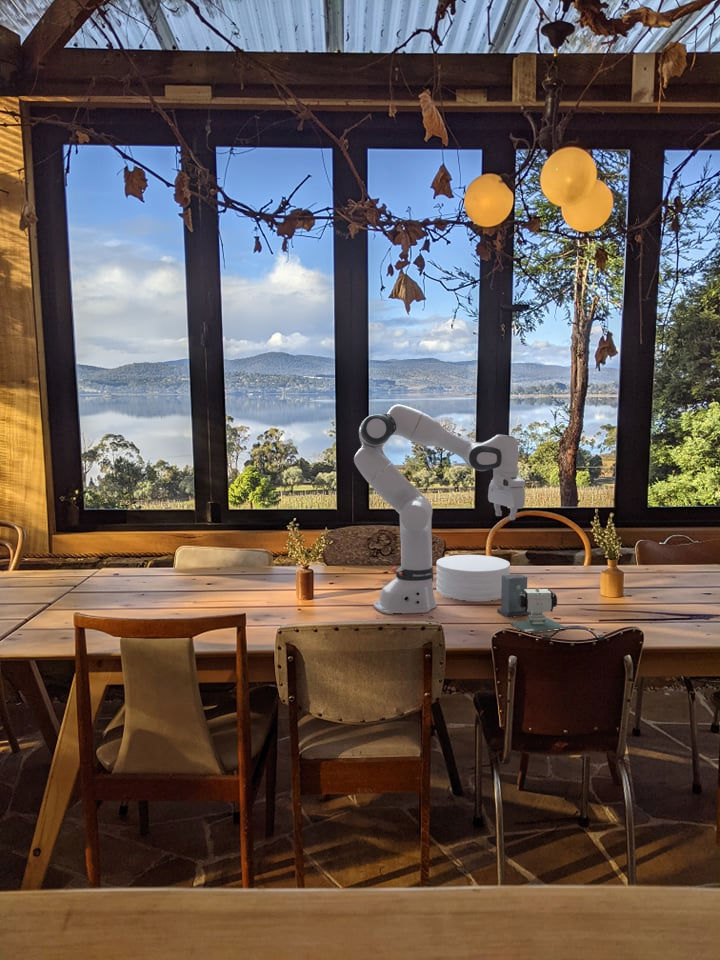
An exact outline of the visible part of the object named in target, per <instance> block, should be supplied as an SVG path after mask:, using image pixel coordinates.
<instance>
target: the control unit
mask: <svg viewBox="0 0 720 960" xmlns="http://www.w3.org/2000/svg"><path fill="white" fill-rule="evenodd" d="M522 589H528V577H527V576H526V575H523V574H521V573H513V574H510V575H502V589H501V599H500V601H501V604H500V605H501V606H500V608H497V609H496V613H498V614H500V615H501V614H502V615H501V616H503V615H504V616H503V617H505V616H506V617H512V618H515V617H514V616H521V617H523V616H522V615H530V613H531V612H525V611H524V610H523V609H522V607H519V606H518V594H521V592H522ZM506 617H505V618H506Z"/></svg>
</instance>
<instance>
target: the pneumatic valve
mask: <svg viewBox="0 0 720 960" xmlns="http://www.w3.org/2000/svg"><path fill="white" fill-rule="evenodd" d="M557 605H558V597H557V594H556V593H555V592H553V591H552V590H551V589H550V588H539V587H535V588H527V589H522V592H521V594H518V606H519V607H522V609H523V610H524V611H525V612H531V613H530V615H528V616H527V620H528V621H529V622H531V623H532V624H533V625H543V624H544V622H545V621H546V618H547V617H546V614H543V612H545V613H546V612H549V613H550V612H551V613H552V612H554V611H553V610H554V608H556V607H557Z"/></svg>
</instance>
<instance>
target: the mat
mask: <svg viewBox="0 0 720 960" xmlns="http://www.w3.org/2000/svg"><path fill="white" fill-rule="evenodd" d="M511 624H512V625H513V626H512V625H511ZM510 625H511V626H512V627H514V626H516V627H517V628H516V630H519V629H520V630H523V631H527V632H531V633H533V634H536V633H535V632H540V631H548V630H554V629H560V628H564V627H565V626H564V625H563V624H560V623H558V622H557V621H555V620H552V619H551V618H549V617H546V621H545V622H544V624H543V625H533V624H532V623H531V622H529V621H528V619H527V620H518V621H512V622H510ZM520 630H519V631H520Z"/></svg>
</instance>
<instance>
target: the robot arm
mask: <svg viewBox="0 0 720 960" xmlns="http://www.w3.org/2000/svg"><path fill="white" fill-rule="evenodd" d="M391 436H399V437H402V438H404V439H406V440H409V441H410V442H413V443H415V444H417V445H420V446H424V447H437V448H441V449H444V450H446V451H448V452H449V453H451V454H455V456H459V458H461V459H462V460H463V461H464V463H466V464H467V465H468V467H470V468H472V469H474V470H476V471H479V472H485V471H490V470H492V472H493V473H492V474H493V475H492V476H493V477H492V479H491V480H490V483H489V486H488V494H487V499H488V502H489V503H493V508H494V511H495V516H496V517H501V516H503V514H502V513H503V511H502V510H501V506H503V507H507V508H509V511H510V513H509V514H508V520H510V521H515V520H516V514H517V513H518V510H519V509H520V510H521V509H523V508H524V507H525V502H526V501H525V500H526V490H525V488H524V487H526V486H527V485H526V480H525V479H523V478H522V477H521V475H520V474H519V468H518V463H519V459H520V458H519V456H520V455H519V454H520V453H519V444H518V439H516V437H514V436H511V435H506V434H500V433H499V434H496V435H495V436H492V437H491V438H490V439H488V440H486V441H483V442H480V441H470V440H469V441H468V440H467V439H463V438H461V437H460V436H457V435H455V434H453V433H451V432H450V431H448V430H447V429H445V428H444V426H442V425H441V423H440V422H439V421H437V420H436V419H435V418H434V417H432V416H430V415H429V414H427V413H425V412H422V411H421V410H418V409H416V408H413V407H411V406H407V405H403V404H400V403H399V404H395V405H393V406H391V407H390V409H388V412H387V413H377V414H371V415H368V416H367V417H366V418H364V420H362V422H361V423H360V425H359V428H358V439H359V443H360V448H359V449H358V450H357V452H356V453H355V455H354V457H353V463H354V464H355V466H356V468H357V469H358V471H359V473H360V475H362V477H363V478H364V479H365V481H366V482H367V483H368V484H369V486H371V487H372V489H373V490H374V491H375V492H376V494H378V496H379V497H381V499H382V500H383V501H385V502H386V503H387V504H388V505H389V506H391V507H392V509H394V510H395V511H396V512H397V513H398V514H399V533H400V534H399V536H400V537H399V538H400V567H399V568H397V567H396V566H393V567H392V568H391V572H392V573H394V574H395V576H396V577H394V578H393V579H392V580H391V581H389V582H388V583H387V584H385V585H384V586H383V587H382V588H381V591H380V596H379V600H375V601H374V602H373V607H374V610H376V611H378V612H380V613H382V614H385V613H386V615H394V614H393V613H402V614H421V613H424V614H425V613H429V612H430V611H431V610H433V609H435V608H436V607H437V602H436V599H435V592H434V586H433V583H434V567H433V535H432V519H433V506H432V504H431V502H430V501H429V499H428V498H426V496H424V494H423V493H422V492H421V491H419V490H418V488H417V487H416V486H415V485H414V484H412V482H411V481H409V480H408V479H407V478H406V476H404V474H402V473H401V471H400V470H399V469H398V468H397V466H395V464H393V462H392V461H391V460H390V459H389V458H388V457H387V456H386V454H385V453H384V451H383V449H384V448H383V446H384V445H385V444H386V443H387V442H388V441H389V439H390V437H391Z"/></svg>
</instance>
